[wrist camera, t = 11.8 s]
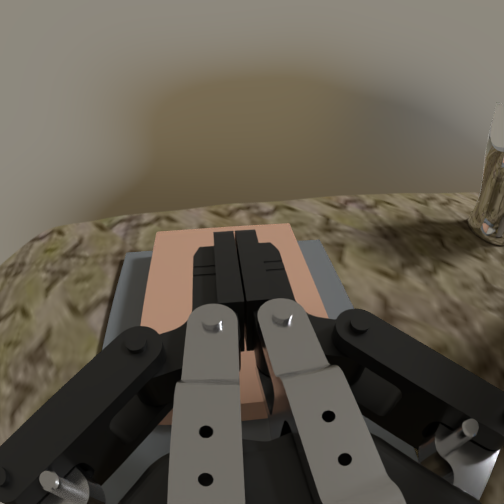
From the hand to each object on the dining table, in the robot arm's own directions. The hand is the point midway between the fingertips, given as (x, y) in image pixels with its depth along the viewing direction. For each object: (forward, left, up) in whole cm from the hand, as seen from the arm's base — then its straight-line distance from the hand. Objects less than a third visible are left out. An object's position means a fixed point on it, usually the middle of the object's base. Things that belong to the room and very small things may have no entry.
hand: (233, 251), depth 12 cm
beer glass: (-33, -1, -9) cm, 34 cm away
